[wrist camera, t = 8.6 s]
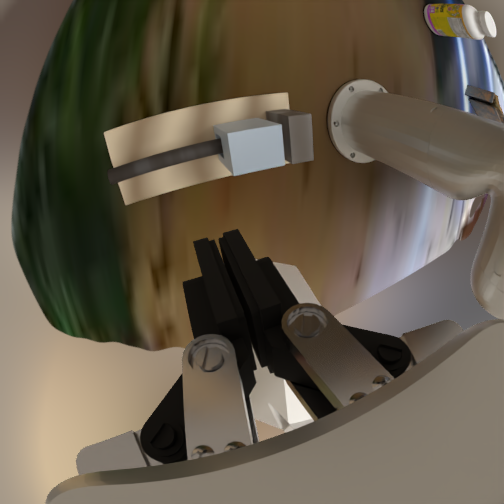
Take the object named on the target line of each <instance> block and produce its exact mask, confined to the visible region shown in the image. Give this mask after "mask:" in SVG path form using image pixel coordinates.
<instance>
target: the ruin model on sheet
mask: <svg viewBox="0 0 504 504" xmlns="http://www.w3.org/2000/svg"><path fill="white" fill-rule="evenodd" d="M465 95H468V96H472V97H474V99H475V100H472V99H469V101H470V103H471V105H472V106H473V108H474V110H475V112H476V113H477V115H478V116H481V117H484V118H487V119H490V120H493V121H496V122H500V123H503V124H504V114H503V112H502V109H501V107H500V105H499V101H498V96H497V95H495V93H493V92H490V91H487V90H483V89H480V88H476V87H472V86H468V85H467V89H466V92H465Z"/></svg>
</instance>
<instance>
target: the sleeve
mask: <svg viewBox="0 0 504 504" xmlns="http://www.w3.org/2000/svg"><path fill="white" fill-rule="evenodd" d="M213 128H214V133H215V139H219V138H221V142H222V148H223V153H221V154H218V157H219V160H220V161H221V162H222V163H223V165H224V166H225V167H226V168H227V169H228V170H229V171H230V172H231V173H232V175H233V176H237V175H241V174H246V173H250V172H255V171H260V170H264V169H269V168H274V167H279V166H284V165H285V157H284V146H283V134H282V125H281V124H278V123H275V122H271V121H268V120H265V119H261V118H251V119H245V120H239V121H233V122H228V123H223V124H218V125H213Z"/></svg>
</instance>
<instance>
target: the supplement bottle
mask: <svg viewBox="0 0 504 504" xmlns="http://www.w3.org/2000/svg"><path fill="white" fill-rule="evenodd" d="M424 16H425V20H426V22H427V24H428V26H429V28H430V29H431V30H432V31H433V32H434V33H435V34H437V35H440V36H452V37H462V38H470V39H476V40H481V39H483V37H484V35H486V36H488V37H496V27H495V23H494V21H493V18H492V17H491V15H490V14H489V13H488V12H486V11H479V12H478V11H477V10H476V9H475V8H474V7H472V6H470V5H464V4H428V5H427V6H426V7H425V9H424Z"/></svg>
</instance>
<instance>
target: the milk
mask: <svg viewBox="0 0 504 504" xmlns="http://www.w3.org/2000/svg"><path fill="white" fill-rule="evenodd" d="M256 260H258V259H256ZM273 264H274V265H275V267H276V268H277V270H278V271H279V273H280V274H281V276H282V277H283V279H284V281H285V282H286V284H287V285H288V287H289V288H290V290H291V291H292V293H293V294H294V296H295V297H296V299H297V300H298V302H299V304H300V303H314V304H317V305H320V303H319V302H318V300H317V298H316V297H315V295H314V294H313V292H312V291H311V289H310V287H309V286H308V284H307V283H306V281H305V280H304V278H303V276H302V275H301V273H300V272H299V270H298V269H297V267H296V266H294V265H288V264H282V263H276V262H273ZM320 306H321V305H320ZM252 349H253V347H252ZM253 353H254V358H255V362H256V366H257V370H254V375H255V379H256V385H255V386H254V388H253V390H252V392H251V393H250V398H251V404H252V409H253V414H254V418H255V419H257V420H259V421H261V422H264V423H266V424H269V425H272V426H274V427H277V428H279V429H284V432H285V433H286V432H289V431H292V430H294V429H297V428H299V427H302V426H304V425H306V424H309V423H311V422H314V420H313V419H312V417H311V416H310V415H309V413H308V412H307V411H306V409H305V408H304V407H303V405H302V404H301V403H300V401H299V400H298V398H297V397H296V396H295V394H294V393H293V392H292V390H291V389H290V387H289V386H288V385H287V383H286V381H285V379H282V378H279V377H276V376H275V375H274V373H271V374H270V372H269V370H268V368H267V366H266V367H263V368H262V367H261V366H260V363H259V361H258V359H257V356H256V354H255V352H254V349H253Z"/></svg>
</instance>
